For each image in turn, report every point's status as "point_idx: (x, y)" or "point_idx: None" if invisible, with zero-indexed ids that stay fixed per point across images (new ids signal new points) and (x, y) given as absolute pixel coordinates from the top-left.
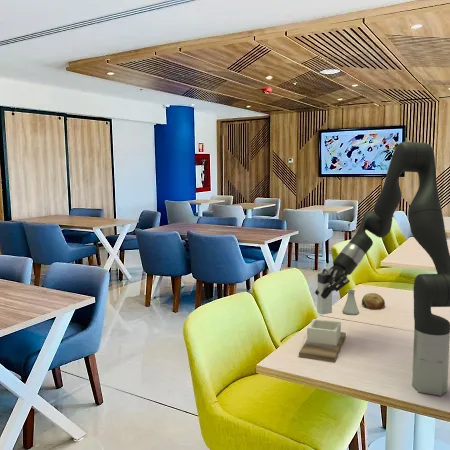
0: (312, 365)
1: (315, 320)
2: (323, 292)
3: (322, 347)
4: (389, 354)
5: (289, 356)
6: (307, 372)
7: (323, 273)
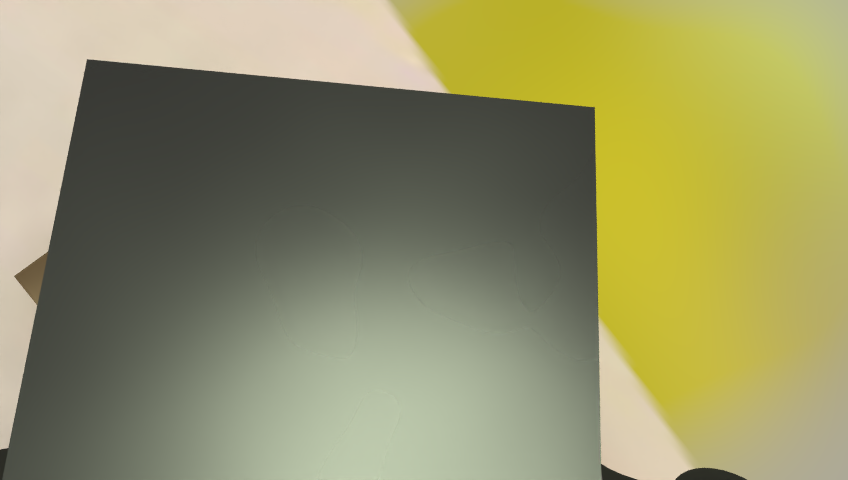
0: None
1: None
2: None
3: None
4: None
5: (301, 68)
6: (26, 24)
7: (484, 437)
